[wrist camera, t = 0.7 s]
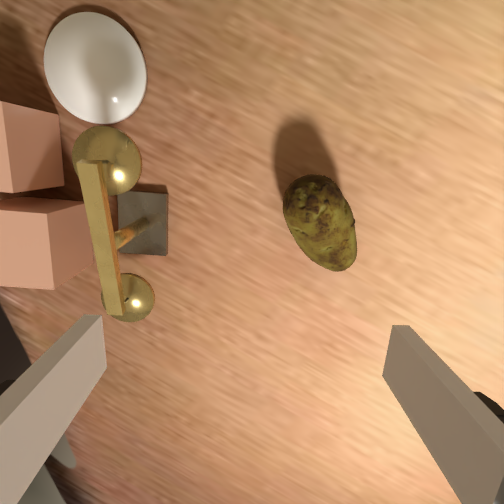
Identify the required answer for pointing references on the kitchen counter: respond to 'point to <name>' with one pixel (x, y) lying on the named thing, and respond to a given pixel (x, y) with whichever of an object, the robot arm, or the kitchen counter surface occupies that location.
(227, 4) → the kitchen counter surface
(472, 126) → the kitchen counter surface
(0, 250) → the peach pink cube
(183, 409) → the kitchen counter surface
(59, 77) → the dish
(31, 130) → the tan cardboard-like box
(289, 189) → the potato
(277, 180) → the kitchen counter surface
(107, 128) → the balance
